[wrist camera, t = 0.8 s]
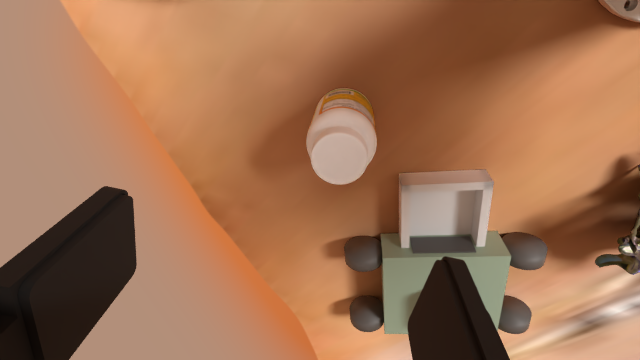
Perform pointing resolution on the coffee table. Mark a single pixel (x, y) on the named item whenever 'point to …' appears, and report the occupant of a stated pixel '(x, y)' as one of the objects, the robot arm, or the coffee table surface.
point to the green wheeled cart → (442, 251)
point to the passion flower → (625, 250)
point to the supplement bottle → (342, 136)
